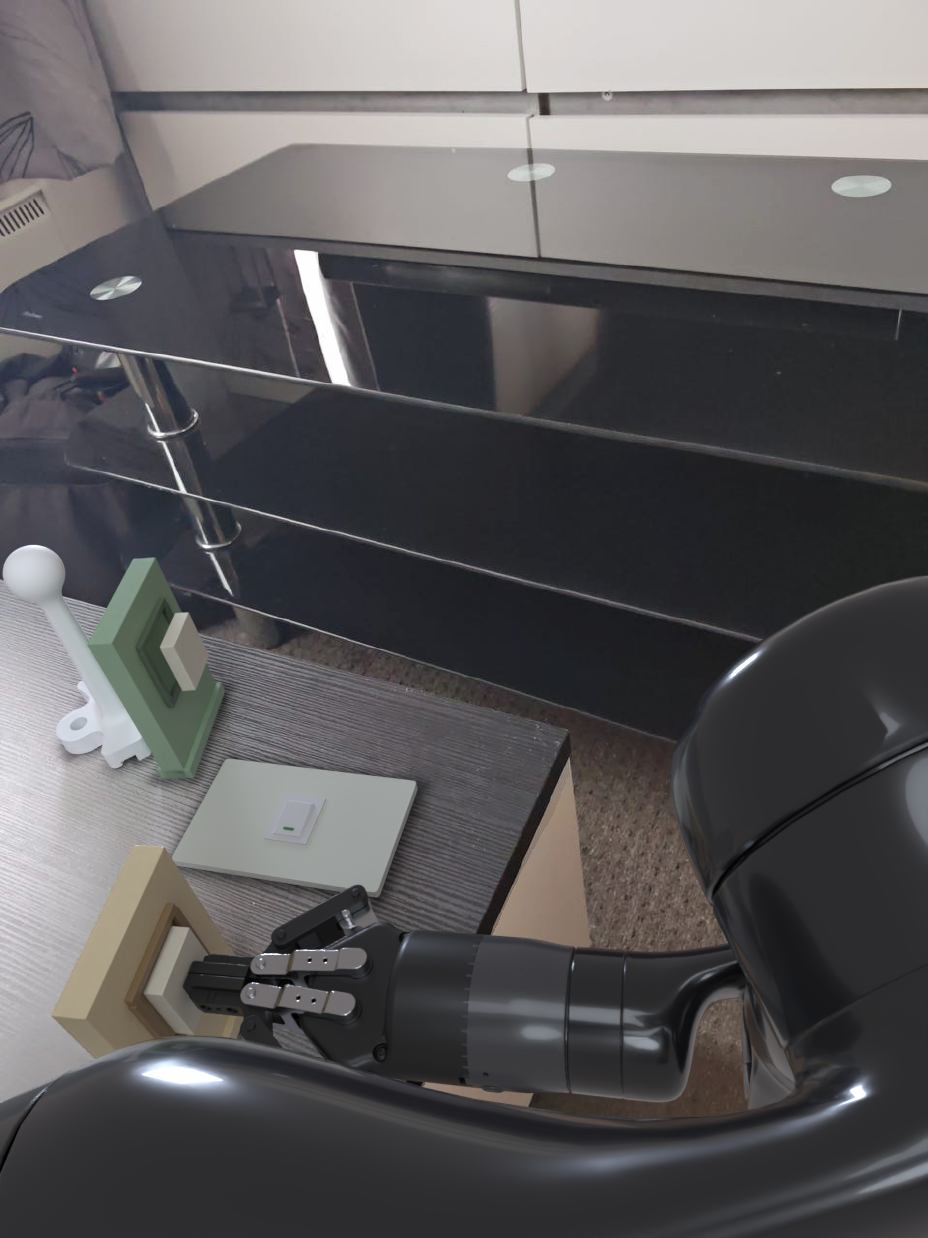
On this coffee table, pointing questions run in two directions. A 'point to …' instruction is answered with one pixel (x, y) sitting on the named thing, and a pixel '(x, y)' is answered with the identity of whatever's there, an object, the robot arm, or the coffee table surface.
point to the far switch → (184, 651)
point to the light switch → (298, 826)
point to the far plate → (154, 671)
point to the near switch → (175, 980)
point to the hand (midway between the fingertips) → (191, 981)
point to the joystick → (75, 661)
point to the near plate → (136, 958)
